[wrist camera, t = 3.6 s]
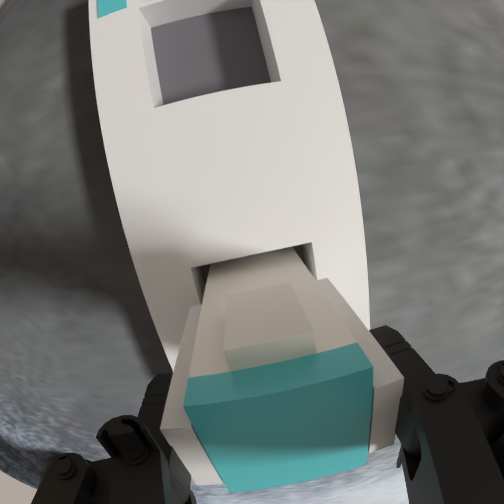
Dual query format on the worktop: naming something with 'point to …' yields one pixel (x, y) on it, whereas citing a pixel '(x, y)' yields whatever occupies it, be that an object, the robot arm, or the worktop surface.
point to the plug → (276, 376)
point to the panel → (225, 145)
